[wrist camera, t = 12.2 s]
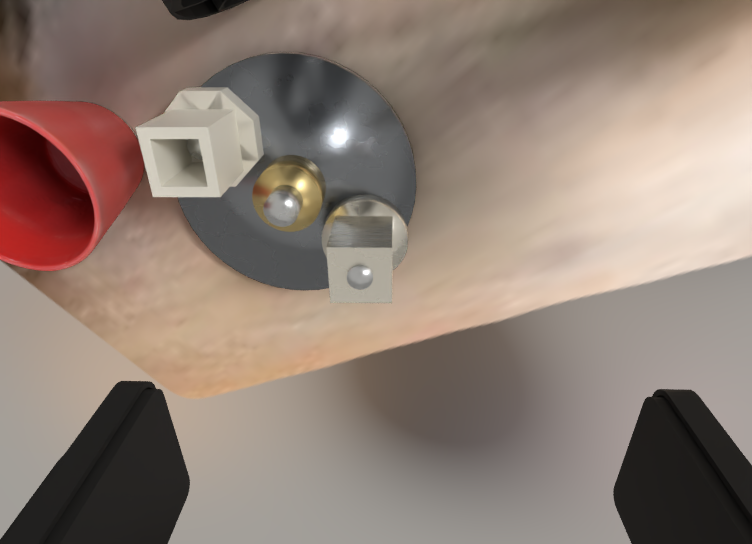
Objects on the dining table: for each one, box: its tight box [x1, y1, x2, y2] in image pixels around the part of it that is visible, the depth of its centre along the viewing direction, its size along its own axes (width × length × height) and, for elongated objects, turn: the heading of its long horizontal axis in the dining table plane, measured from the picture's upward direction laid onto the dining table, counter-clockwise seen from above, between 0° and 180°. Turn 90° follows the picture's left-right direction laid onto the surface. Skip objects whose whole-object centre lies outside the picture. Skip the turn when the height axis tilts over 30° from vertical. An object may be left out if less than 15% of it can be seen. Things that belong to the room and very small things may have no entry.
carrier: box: [178, 52, 416, 303], centre depth 35 cm, size 19×19×8 cm
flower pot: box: [0, 101, 144, 271], centre depth 34 cm, size 11×11×10 cm
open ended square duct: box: [135, 87, 264, 197], centre depth 33 cm, size 7×7×7 cm
